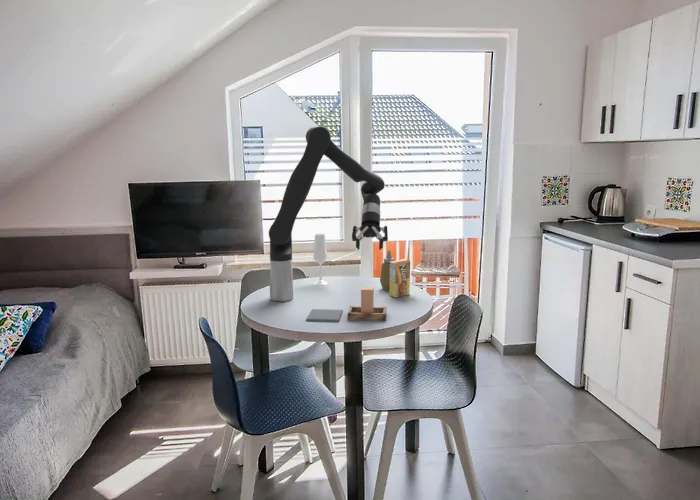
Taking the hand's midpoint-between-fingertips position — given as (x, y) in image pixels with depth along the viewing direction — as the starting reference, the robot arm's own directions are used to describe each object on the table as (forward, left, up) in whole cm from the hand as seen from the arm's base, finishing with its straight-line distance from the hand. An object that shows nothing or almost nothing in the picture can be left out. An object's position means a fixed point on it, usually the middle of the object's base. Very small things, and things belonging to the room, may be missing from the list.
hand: (369, 248), depth 184 cm
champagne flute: (-26, +37, -24) cm, 52 cm away
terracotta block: (0, -12, -24) cm, 27 cm away
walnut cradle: (0, -12, -24) cm, 27 cm away
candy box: (+12, +19, -24) cm, 33 cm away
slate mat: (-16, -13, -24) cm, 31 cm away
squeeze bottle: (+7, +29, -24) cm, 39 cm away
